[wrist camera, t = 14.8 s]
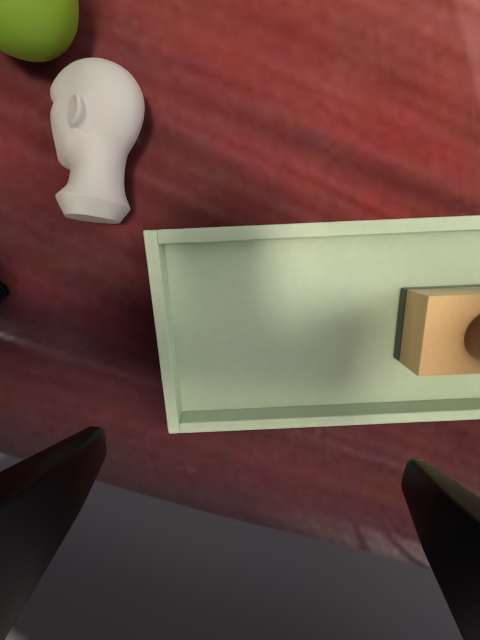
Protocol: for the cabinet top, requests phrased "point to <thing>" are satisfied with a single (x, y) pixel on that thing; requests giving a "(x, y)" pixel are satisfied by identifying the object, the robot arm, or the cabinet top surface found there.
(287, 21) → the cabinet top surface
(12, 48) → the snail figurine
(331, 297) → the tray
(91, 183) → the mannequin head
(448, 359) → the rubber stamp
